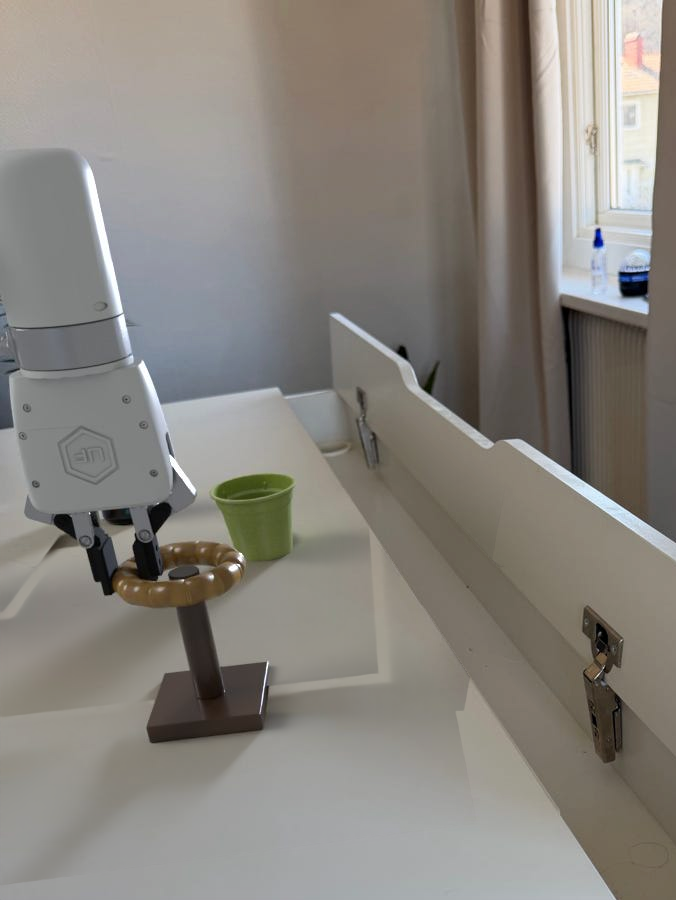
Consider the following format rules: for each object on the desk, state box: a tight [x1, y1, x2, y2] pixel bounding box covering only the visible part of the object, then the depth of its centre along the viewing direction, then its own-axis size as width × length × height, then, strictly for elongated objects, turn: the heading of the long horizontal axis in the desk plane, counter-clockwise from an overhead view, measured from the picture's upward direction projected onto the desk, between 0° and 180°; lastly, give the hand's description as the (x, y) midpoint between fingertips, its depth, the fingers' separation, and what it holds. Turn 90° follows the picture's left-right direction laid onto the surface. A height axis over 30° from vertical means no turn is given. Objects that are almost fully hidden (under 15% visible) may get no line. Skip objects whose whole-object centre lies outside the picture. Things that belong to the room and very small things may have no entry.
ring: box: [112, 540, 247, 610], centre depth 77 cm, size 10×10×2 cm
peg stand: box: [145, 566, 270, 743], centre depth 79 cm, size 9×9×12 cm
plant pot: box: [209, 472, 297, 563], centre depth 110 cm, size 9×9×9 cm
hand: (131, 584), depth 76 cm, fingers closed on ring, 2 cm apart
